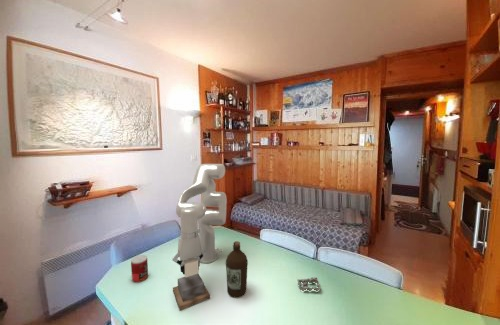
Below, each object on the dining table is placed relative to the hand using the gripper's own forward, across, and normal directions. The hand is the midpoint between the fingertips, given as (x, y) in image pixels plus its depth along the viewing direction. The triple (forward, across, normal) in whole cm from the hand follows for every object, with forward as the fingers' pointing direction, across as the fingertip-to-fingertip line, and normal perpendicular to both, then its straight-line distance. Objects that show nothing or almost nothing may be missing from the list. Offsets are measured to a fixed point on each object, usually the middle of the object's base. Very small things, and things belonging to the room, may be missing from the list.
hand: (190, 270), depth 100 cm
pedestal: (+13, 0, 0) cm, 13 cm away
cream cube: (+1, 0, 0) cm, 1 cm away
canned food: (+13, +20, -27) cm, 36 cm away
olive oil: (+13, -20, +9) cm, 26 cm away
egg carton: (+13, -52, +26) cm, 60 cm away
